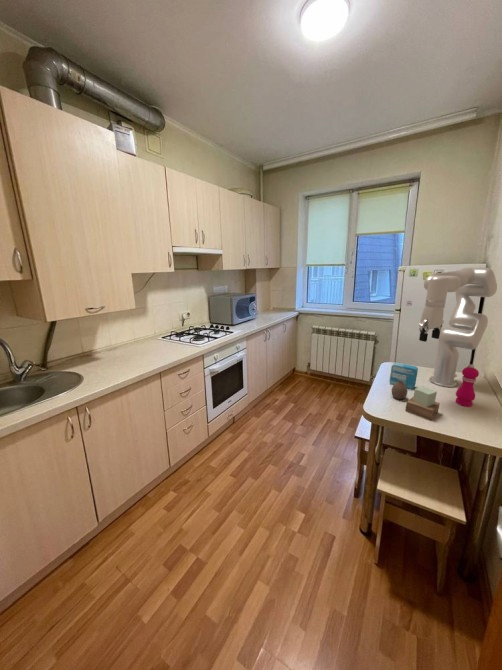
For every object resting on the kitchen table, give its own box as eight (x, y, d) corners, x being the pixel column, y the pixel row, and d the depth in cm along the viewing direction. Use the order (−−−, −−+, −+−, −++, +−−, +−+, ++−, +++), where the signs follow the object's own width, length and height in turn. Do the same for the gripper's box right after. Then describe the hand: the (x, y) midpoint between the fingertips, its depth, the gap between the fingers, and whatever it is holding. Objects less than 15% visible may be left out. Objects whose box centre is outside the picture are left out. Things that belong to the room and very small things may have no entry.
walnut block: (413, 404, 126) (415, 394, 125) (437, 412, 119) (439, 403, 117) (405, 411, 120) (406, 401, 119) (430, 421, 113) (432, 410, 111)
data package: (389, 384, 147) (391, 364, 144) (390, 381, 150) (393, 361, 147) (413, 390, 140) (417, 369, 137) (414, 387, 143) (418, 366, 140)
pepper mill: (469, 401, 128) (478, 362, 123) (476, 408, 122) (485, 368, 116) (451, 398, 130) (459, 361, 125) (457, 405, 124) (466, 366, 119)
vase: (408, 401, 128) (411, 385, 126) (393, 400, 129) (395, 384, 127) (403, 395, 135) (405, 379, 132) (389, 393, 136) (391, 378, 134)
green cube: (421, 398, 122) (423, 386, 120) (434, 403, 117) (436, 391, 115) (412, 400, 119) (414, 388, 118) (426, 407, 114) (428, 394, 113)
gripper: (437, 301, 128) (431, 335, 132) (415, 304, 120) (409, 340, 125) (454, 303, 121) (447, 339, 126) (432, 306, 114) (426, 344, 118)
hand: (429, 339), depth 125 cm, fingers open, 9 cm apart
